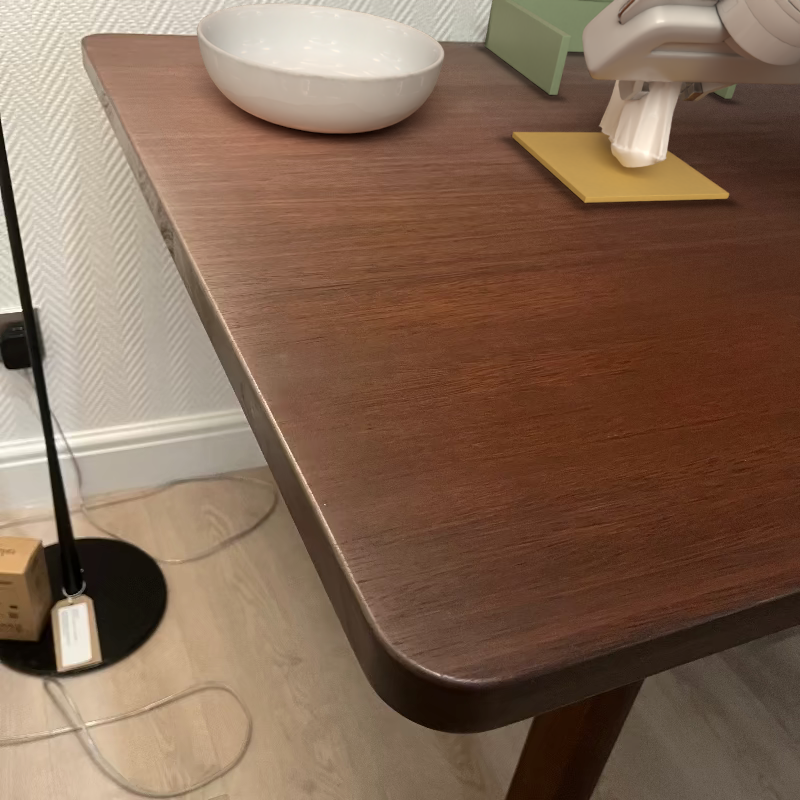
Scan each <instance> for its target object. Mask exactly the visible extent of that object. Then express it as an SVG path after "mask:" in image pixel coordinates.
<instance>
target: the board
mask: <svg viewBox="0 0 800 800" xmlns="http://www.w3.org/2000/svg"><path fill="white" fill-rule="evenodd" d="M609 137H610V136H609V135H607V134H604V133H603V132H601V131H599V132H595V131H591V132H587V131H586V132H584V131H513V132H512V137H511V138H512V139H514V140H515V141H516V142H517V143H518V144H519V145H520V146H521V147H522V148H524V149H525V151H527V152H528V153H529V154H530V155H531V156H533V157H534V158H535V159H536V160H537V161H538V162H539V163H540V164H541V165H542V166H543V167H544V168H546V170H548V171H549V172H550V173H551V174H552V175H553V176H554V177H555V178H557V179H558V180H559V181H560V182H561V184H563V185H564V186H565V187H566V188H567V189H568V190H570V191H571V192H572V193H573V194H574V195H575V196H577V198H579V199H580V200H581V201H582V202H583V203H584V204H587V203H588V204H589V203H627V202H629V203H631V202H662V201H664V202H665V201H698V200H727V199H728V198H729V196H730V193H729V191H727V190H725V189H724V188H722V187H721V186H719V184H716V183H715V182H713V181H712V180H711V179H709V178H708V177H706V176H705V175H704V174H702V173H701V172H699V171H698V170H696V169H695V168H694V167H692V166H690V165H689V164H688V163H686V161H684V160H682V159H681V158H680V157H677V155H675V154H674V153H672V152H670V150H668V149H667V154H666V159H665V160H664V161H662V162H659V163H656V164H653V165H649V166H643V167H626V166H623V165H621V163H620V162H619V161H618V159H617V158H616V157H615V156H614V155H613V154H612V151H611V142H610V140H609V139H608V138H609Z"/></svg>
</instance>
